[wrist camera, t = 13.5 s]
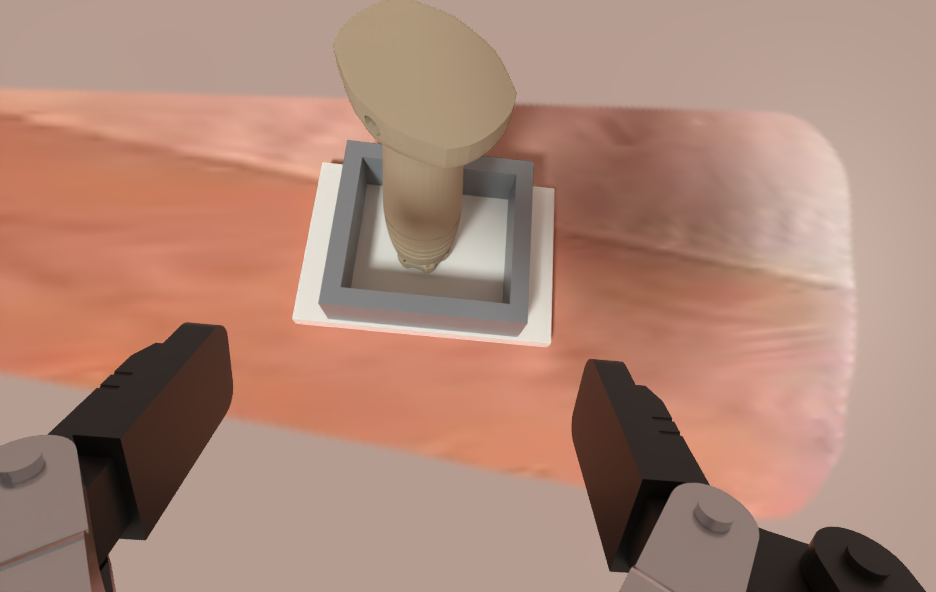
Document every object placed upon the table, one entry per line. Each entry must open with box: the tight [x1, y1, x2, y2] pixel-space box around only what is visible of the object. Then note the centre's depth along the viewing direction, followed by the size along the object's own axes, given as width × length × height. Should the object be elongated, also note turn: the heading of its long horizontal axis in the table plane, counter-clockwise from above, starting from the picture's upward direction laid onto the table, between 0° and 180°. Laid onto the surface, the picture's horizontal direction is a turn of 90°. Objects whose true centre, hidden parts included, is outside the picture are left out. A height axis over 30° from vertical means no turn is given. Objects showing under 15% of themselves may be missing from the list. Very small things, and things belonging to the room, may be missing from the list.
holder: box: [292, 140, 554, 347], centre depth 30 cm, size 15×10×4 cm
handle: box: [333, 0, 516, 273], centre depth 24 cm, size 5×6×15 cm
